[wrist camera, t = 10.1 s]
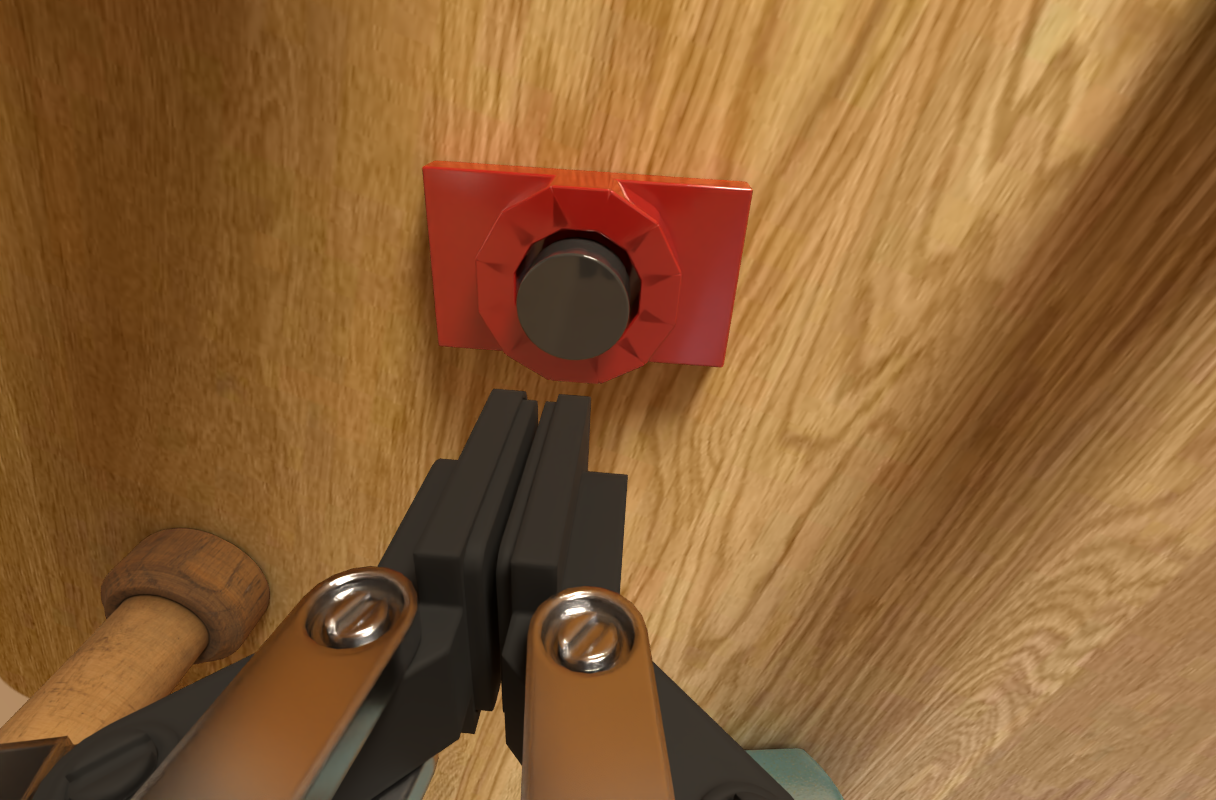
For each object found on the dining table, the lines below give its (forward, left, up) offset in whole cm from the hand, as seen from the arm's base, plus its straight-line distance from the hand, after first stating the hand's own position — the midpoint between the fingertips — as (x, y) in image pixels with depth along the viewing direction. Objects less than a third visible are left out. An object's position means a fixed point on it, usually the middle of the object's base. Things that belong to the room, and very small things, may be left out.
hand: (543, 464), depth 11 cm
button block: (0, 0, -12) cm, 12 cm away
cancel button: (0, 0, -9) cm, 9 cm away
